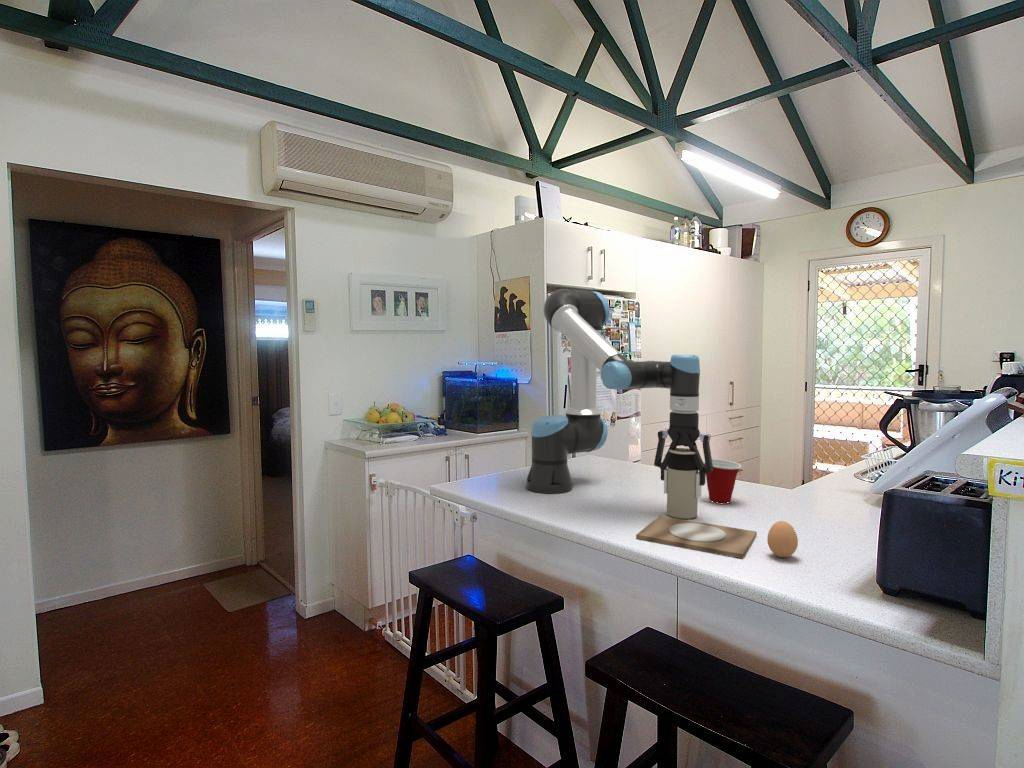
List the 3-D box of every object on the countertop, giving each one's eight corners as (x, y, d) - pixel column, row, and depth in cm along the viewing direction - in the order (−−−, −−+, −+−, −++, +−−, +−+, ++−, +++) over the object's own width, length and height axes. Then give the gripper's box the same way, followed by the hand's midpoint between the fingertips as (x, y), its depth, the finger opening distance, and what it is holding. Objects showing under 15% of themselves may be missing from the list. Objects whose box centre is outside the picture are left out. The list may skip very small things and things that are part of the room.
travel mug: (665, 517, 151) (666, 451, 150) (668, 509, 158) (669, 446, 157) (696, 521, 148) (698, 453, 147) (697, 512, 155) (699, 448, 154)
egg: (783, 563, 119) (784, 527, 118) (760, 554, 124) (761, 519, 124) (803, 559, 121) (804, 523, 121) (780, 550, 127) (781, 515, 126)
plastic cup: (734, 509, 159) (735, 467, 158) (696, 502, 166) (697, 462, 165) (744, 500, 168) (745, 461, 167) (708, 495, 174) (709, 457, 174)
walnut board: (636, 538, 134) (636, 532, 134) (659, 519, 149) (659, 514, 149) (742, 558, 121) (743, 552, 121) (756, 535, 136) (756, 529, 136)
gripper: (642, 410, 154) (640, 492, 155) (721, 415, 142) (719, 503, 144) (651, 408, 160) (649, 486, 161) (727, 412, 149) (725, 497, 150)
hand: (682, 494), depth 153 cm, fingers closed on travel mug, 8 cm apart
